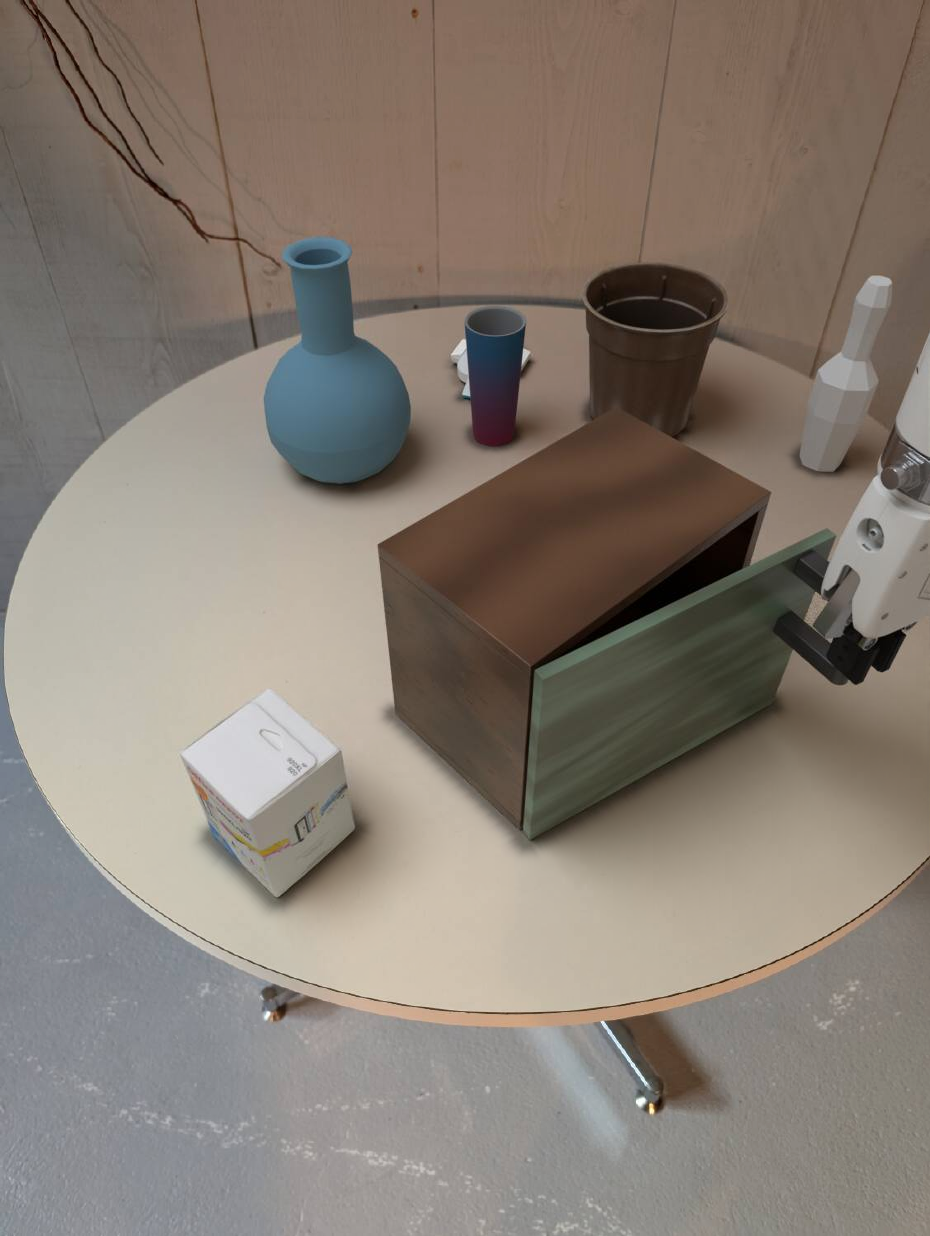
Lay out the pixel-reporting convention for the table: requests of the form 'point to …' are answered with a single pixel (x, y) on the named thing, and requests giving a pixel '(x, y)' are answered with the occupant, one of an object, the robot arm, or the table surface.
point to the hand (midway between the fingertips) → (856, 663)
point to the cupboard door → (670, 681)
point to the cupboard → (548, 581)
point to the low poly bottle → (845, 383)
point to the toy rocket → (462, 364)
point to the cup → (494, 371)
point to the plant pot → (650, 339)
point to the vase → (333, 378)
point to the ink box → (271, 790)
